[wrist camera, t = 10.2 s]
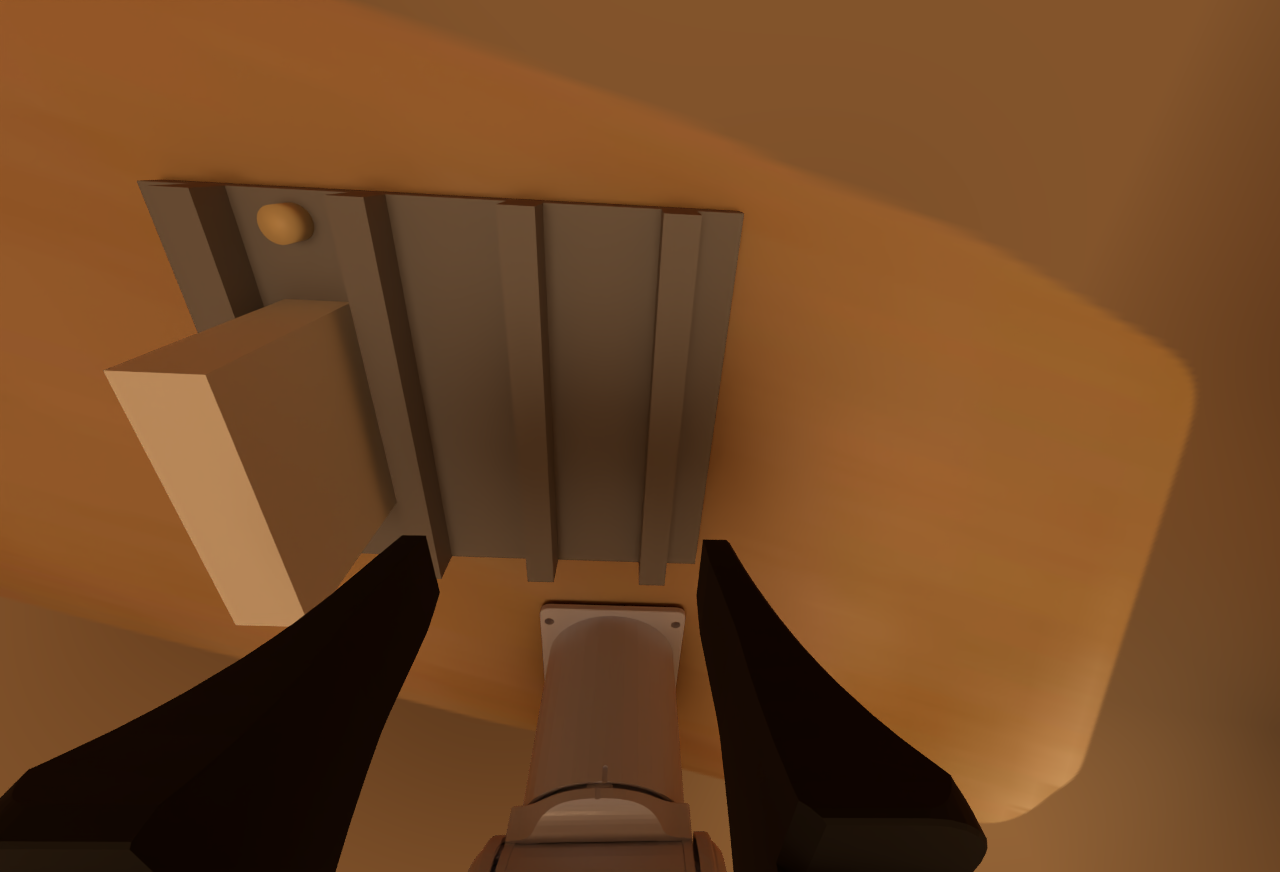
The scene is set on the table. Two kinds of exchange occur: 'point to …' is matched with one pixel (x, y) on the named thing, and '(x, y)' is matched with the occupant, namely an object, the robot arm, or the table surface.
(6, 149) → the table surface
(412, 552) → the robot arm
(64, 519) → the table surface
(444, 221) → the ridged panel
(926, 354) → the table surface
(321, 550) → the picture frame
